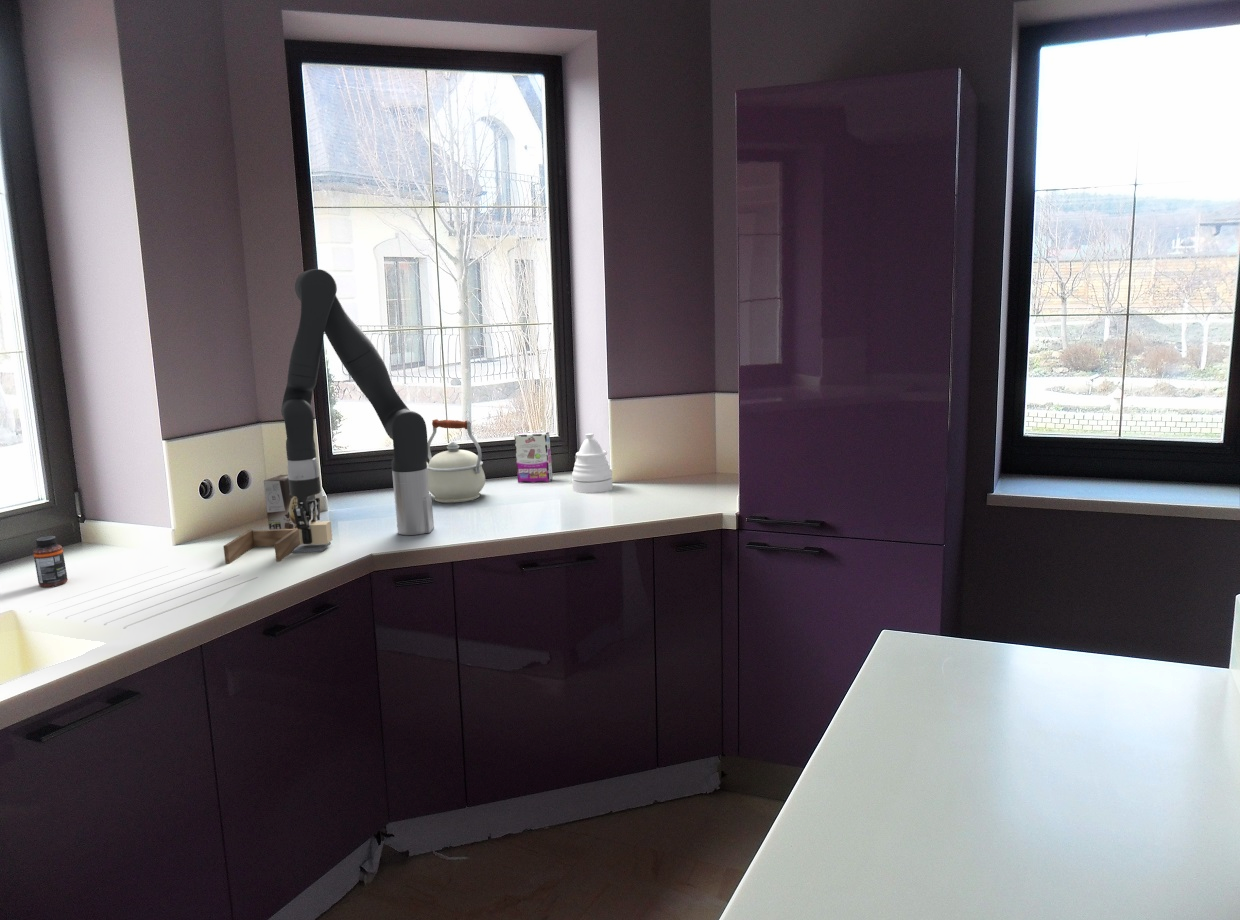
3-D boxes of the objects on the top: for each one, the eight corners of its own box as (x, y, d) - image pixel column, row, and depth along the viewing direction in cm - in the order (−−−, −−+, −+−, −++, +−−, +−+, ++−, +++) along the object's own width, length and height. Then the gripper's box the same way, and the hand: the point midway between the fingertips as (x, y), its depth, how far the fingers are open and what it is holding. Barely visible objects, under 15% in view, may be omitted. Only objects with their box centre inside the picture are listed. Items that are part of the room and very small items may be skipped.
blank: (305, 540, 243) (303, 522, 242) (332, 539, 243) (330, 520, 242) (300, 544, 239) (298, 525, 238) (327, 543, 239) (325, 524, 238)
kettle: (502, 494, 296) (497, 417, 292) (463, 507, 281) (457, 425, 277) (444, 489, 309) (438, 414, 305) (404, 500, 294) (396, 422, 290)
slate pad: (330, 543, 245) (330, 541, 245) (321, 551, 238) (321, 549, 237) (302, 545, 245) (302, 542, 245) (292, 553, 238) (292, 550, 238)
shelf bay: (303, 543, 247) (301, 526, 246) (280, 561, 231) (278, 543, 230) (252, 545, 247) (250, 529, 247) (225, 563, 231) (223, 546, 230)
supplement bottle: (47, 581, 223) (39, 535, 221) (72, 579, 223) (65, 533, 221) (33, 589, 217) (25, 541, 215) (60, 587, 217) (52, 540, 215)
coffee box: (290, 538, 253) (283, 480, 250) (268, 538, 254) (262, 480, 252) (307, 529, 262) (301, 473, 259) (287, 529, 263) (280, 473, 260)
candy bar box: (553, 479, 317) (550, 431, 314) (549, 482, 312) (546, 433, 309) (521, 479, 319) (517, 432, 316) (517, 482, 314) (513, 434, 311)
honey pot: (612, 492, 292) (609, 435, 289) (571, 493, 293) (568, 437, 289) (613, 483, 305) (610, 429, 302) (573, 485, 305) (570, 431, 302)
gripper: (309, 480, 231) (316, 548, 234) (327, 470, 245) (333, 533, 248) (279, 482, 231) (286, 549, 234) (298, 471, 245) (305, 535, 248)
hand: (310, 540), depth 241 cm, fingers closed on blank, 4 cm apart
